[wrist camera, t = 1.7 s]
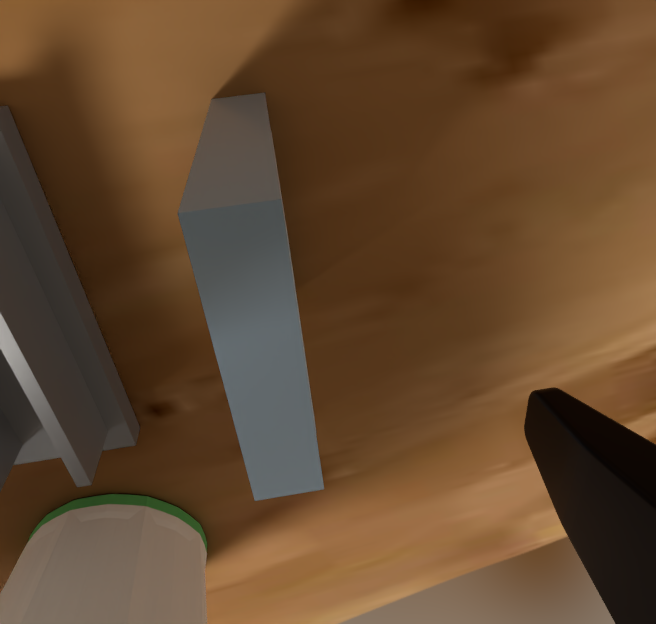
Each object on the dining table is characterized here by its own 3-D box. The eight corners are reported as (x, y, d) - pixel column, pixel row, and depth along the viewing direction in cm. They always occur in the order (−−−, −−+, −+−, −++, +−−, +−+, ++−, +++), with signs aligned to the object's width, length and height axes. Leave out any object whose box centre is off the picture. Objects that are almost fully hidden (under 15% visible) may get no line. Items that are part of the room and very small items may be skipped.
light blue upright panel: (294, 291, 19) (324, 488, 12) (251, 297, 19) (253, 501, 12) (265, 92, 16) (282, 198, 8) (210, 99, 15) (176, 213, 8)
